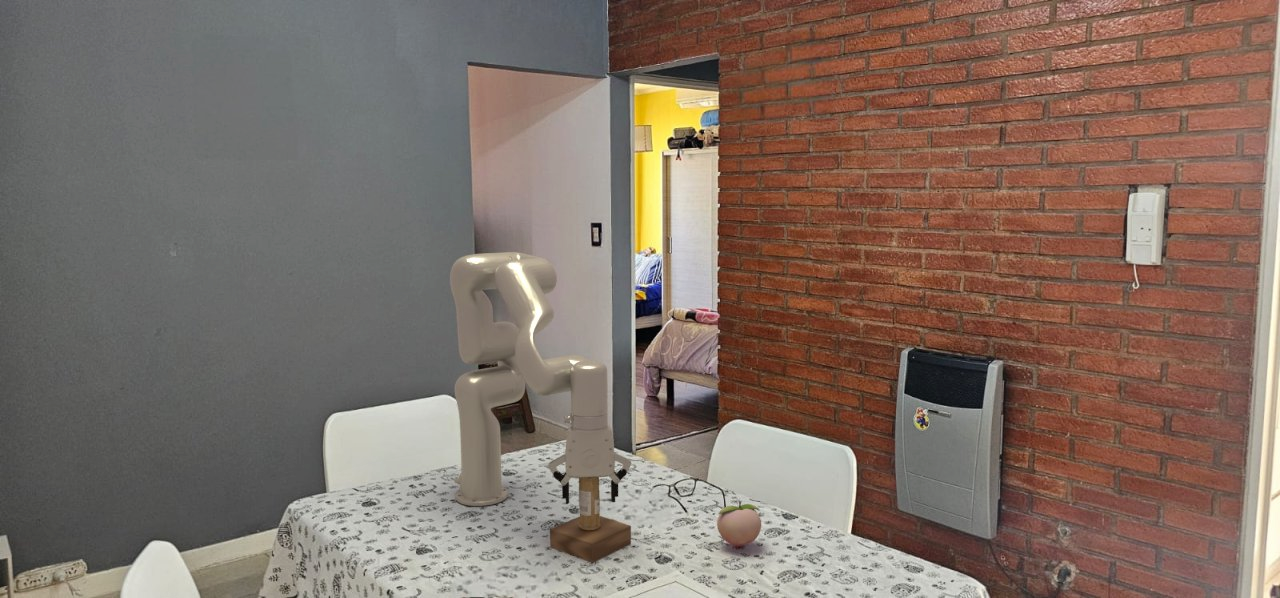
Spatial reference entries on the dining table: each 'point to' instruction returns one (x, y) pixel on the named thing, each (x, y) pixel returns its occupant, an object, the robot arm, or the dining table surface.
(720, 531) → the decorative fruit
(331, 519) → the dining table surface
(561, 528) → the walnut stand
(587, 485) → the sprinkles bottle
